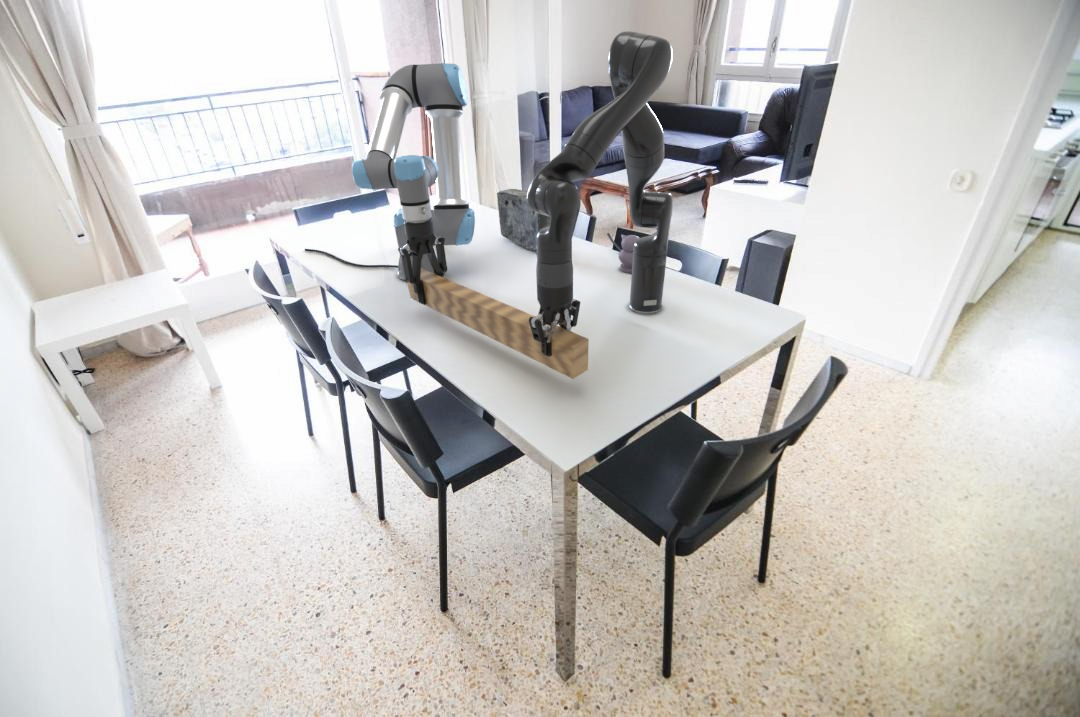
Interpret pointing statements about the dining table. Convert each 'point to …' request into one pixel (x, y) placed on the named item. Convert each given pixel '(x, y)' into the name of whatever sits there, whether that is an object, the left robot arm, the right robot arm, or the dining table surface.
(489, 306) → the beam
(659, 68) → the right robot arm
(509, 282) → the dining table surface
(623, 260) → the cat figurine
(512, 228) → the concrete block
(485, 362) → the dining table surface
